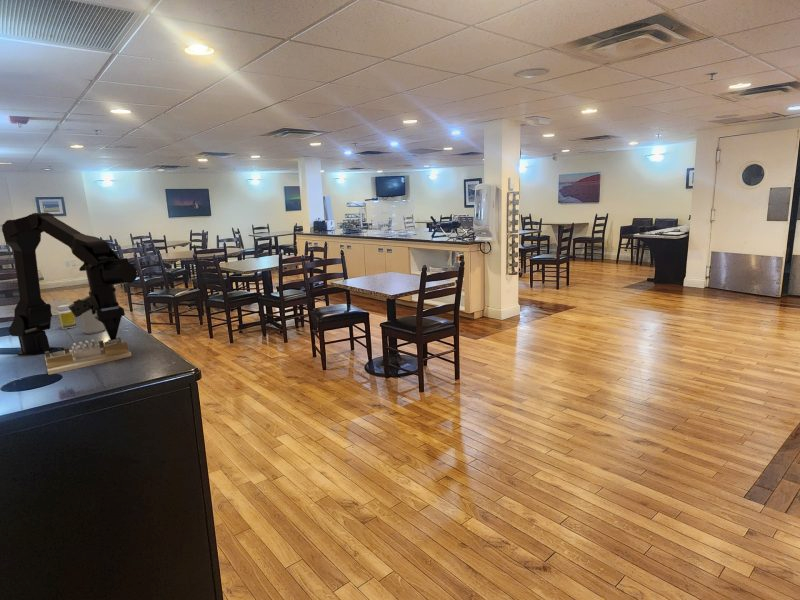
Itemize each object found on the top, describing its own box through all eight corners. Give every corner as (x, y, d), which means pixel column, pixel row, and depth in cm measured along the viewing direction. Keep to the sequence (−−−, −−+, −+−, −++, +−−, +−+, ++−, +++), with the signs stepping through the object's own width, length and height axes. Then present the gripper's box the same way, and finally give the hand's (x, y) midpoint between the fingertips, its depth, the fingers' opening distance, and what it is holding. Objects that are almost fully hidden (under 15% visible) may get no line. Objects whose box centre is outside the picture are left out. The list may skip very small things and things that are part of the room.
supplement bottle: (79, 326, 177) (75, 304, 175) (67, 329, 173) (62, 307, 171) (70, 326, 179) (65, 304, 177) (58, 329, 174) (53, 307, 173)
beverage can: (95, 334, 162) (88, 300, 160) (79, 334, 163) (72, 300, 161) (110, 329, 168) (103, 296, 166) (94, 329, 170) (87, 296, 167)
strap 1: (51, 355, 134) (50, 351, 134) (63, 353, 136) (62, 349, 136) (53, 363, 125) (52, 358, 125) (66, 360, 127) (65, 356, 127)
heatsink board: (45, 358, 137) (41, 345, 136) (119, 342, 148) (117, 330, 148) (48, 374, 122) (45, 359, 121) (131, 356, 133) (129, 342, 132)
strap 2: (104, 345, 142) (104, 341, 142) (115, 343, 144) (114, 339, 144) (108, 343, 133) (107, 339, 133) (120, 341, 135) (119, 337, 134)
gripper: (64, 288, 135) (76, 342, 138) (68, 292, 120) (82, 352, 123) (109, 282, 141) (120, 333, 144) (119, 285, 127) (130, 341, 129)
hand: (113, 339), depth 135 cm, fingers closed, pressing on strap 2
